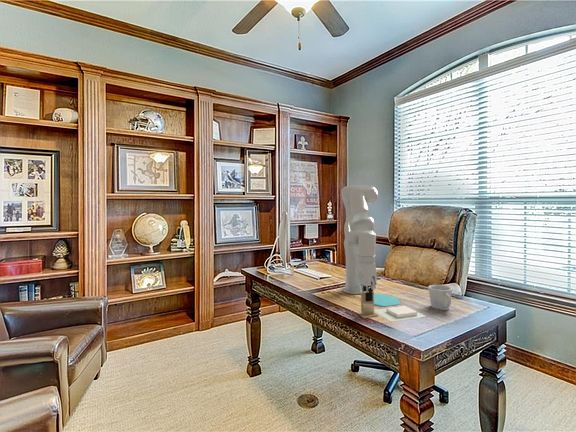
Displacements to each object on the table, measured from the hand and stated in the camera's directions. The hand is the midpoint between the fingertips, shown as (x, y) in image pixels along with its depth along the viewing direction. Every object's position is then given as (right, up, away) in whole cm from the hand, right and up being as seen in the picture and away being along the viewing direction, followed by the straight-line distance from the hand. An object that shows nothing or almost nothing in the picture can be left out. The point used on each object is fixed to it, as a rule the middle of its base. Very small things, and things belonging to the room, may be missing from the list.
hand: (367, 299), depth 146 cm
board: (+15, -7, +2) cm, 16 cm away
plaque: (+12, -7, +20) cm, 25 cm away
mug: (+37, -7, +7) cm, 38 cm away
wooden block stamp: (0, -8, +1) cm, 8 cm away
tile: (+14, -6, +6) cm, 16 cm away
